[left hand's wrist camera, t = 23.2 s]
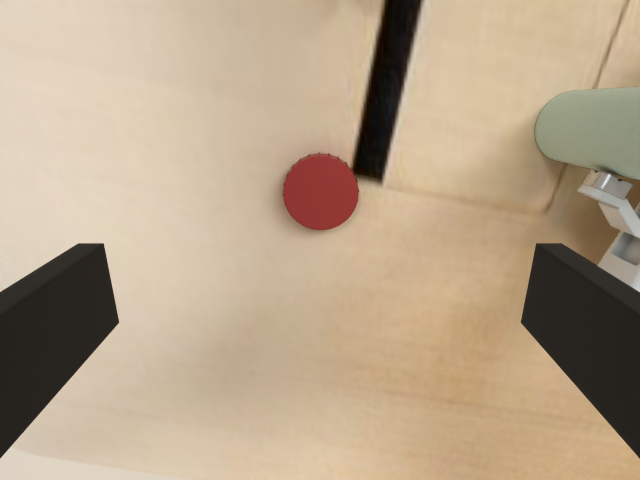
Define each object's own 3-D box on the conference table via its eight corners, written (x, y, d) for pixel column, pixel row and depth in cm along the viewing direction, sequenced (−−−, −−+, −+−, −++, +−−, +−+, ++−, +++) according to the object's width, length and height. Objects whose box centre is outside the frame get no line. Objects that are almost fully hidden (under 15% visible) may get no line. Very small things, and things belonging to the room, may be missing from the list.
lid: (371, 180, 30) (374, 184, 28) (329, 237, 31) (330, 244, 30) (311, 137, 29) (310, 139, 27) (270, 198, 30) (267, 203, 29)
